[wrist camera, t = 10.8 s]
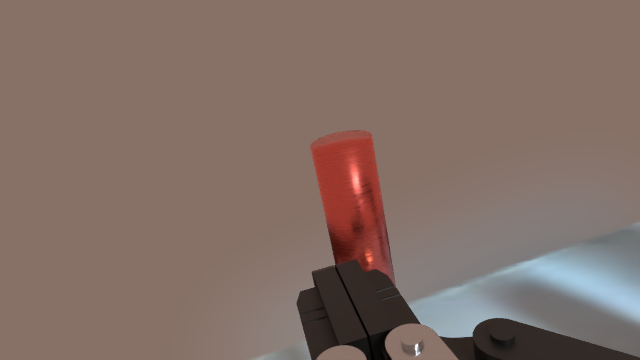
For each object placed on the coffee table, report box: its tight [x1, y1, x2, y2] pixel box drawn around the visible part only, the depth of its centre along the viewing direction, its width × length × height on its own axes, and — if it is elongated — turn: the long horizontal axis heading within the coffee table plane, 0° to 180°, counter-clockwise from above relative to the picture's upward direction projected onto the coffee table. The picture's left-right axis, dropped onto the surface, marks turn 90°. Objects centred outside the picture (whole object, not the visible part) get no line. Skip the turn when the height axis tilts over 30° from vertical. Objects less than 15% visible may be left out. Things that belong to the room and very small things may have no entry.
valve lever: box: [310, 130, 396, 287], centre depth 15 cm, size 15×3×11 cm, turn 13°
